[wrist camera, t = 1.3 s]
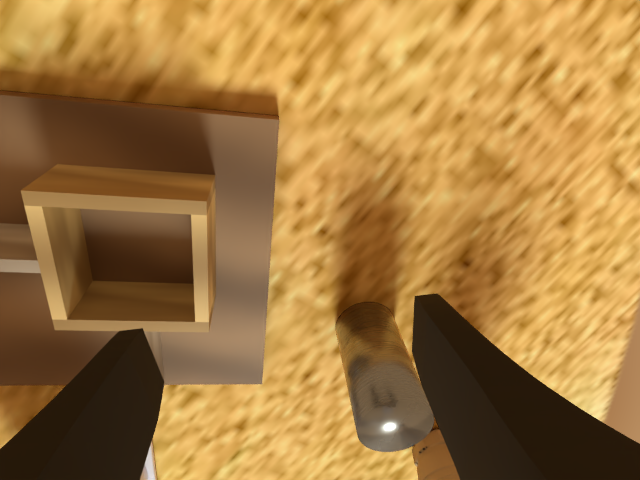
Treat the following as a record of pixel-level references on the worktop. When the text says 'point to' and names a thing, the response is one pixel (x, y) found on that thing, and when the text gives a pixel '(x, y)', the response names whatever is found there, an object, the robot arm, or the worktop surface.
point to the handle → (434, 458)
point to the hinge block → (133, 236)
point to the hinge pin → (381, 380)
